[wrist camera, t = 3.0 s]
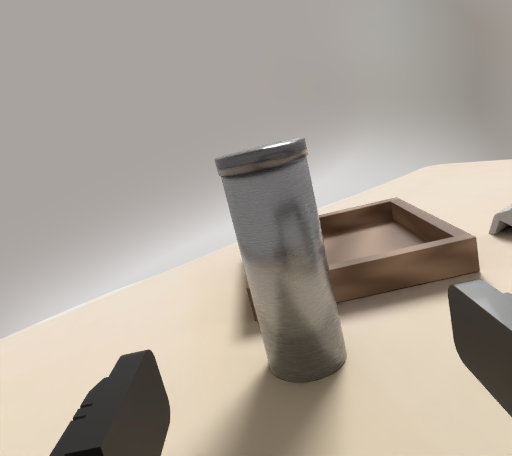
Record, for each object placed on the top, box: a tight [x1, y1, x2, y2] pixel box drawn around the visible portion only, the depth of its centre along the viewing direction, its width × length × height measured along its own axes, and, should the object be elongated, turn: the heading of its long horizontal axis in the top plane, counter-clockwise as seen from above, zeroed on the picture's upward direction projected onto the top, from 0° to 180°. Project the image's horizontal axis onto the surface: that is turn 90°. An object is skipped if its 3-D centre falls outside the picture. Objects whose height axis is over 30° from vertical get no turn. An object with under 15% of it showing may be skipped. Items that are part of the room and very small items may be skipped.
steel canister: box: [215, 138, 346, 382], centre depth 22 cm, size 5×5×12 cm
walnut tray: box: [247, 197, 480, 321], centre depth 37 cm, size 16×16×2 cm
